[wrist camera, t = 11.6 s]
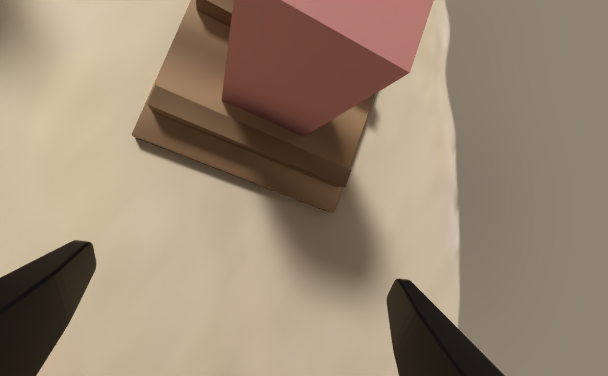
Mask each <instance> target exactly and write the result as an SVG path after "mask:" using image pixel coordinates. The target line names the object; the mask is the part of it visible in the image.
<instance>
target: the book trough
mask: <svg viewBox="0 0 608 376" xmlns="http://www.w3.org/2000/svg"><path fill="white" fill-rule="evenodd" d="M233 2H234V0H191V2H190V4H189V6H188V8H187V11H186V13H185V15H184V17H183V20H182V22H181V24H180V26H179V29H178V31H177V33H176V36H175V38H174V40H173V42H172V45H171V47H170V49H169V51H168V54H167V56H166V58H165V60H164V63H163V65H162V67H161V69H160V72H159V74H158V76H157V79H156V81H155V83H154V85H153V88H152V90H151V92H150V94H149V97H148V99H147V101H146V103H145V106H144V108H143V110H142V113H141V115H140V117H139V119H138V122H137V124H136V126H135V128H134V131H133V133H132V135H133V136H134V137H136V138H138V139H141V140H143V141H146V142H149V143H151V144H154V145H156V146H159V147H162V148H164V149H167V150H169V151H172V152H175V153H177V154H180V155H182V156H185V157H188V158H190V159H193V160H195V161H198V162H201V163H203V164H206V165H208V166H211V167H214V168H216V169H219V170H221V171H224V172H227V173H229V174H232V175H234V176H237V177H240V178H242V179H245V180H247V181H250V182H253V183H255V184H258V185H260V186H263V187H266V188H268V189H271V190H273V191H276V192H279V193H281V194H284V195H286V196H289V197H292V198H294V199H297V200H299V201H302V202H305V203H307V204H310V205H312V206H315V207H318V208H320V209H323V210H325V211H328V212H332V213H334V212H335V209H336V206H337V203H338V200H339V197H340V194H341V191H342V188H343V187H345V186H346V183H347V181H348V178H349V175H350V172H351V170H349V168H350V165H351V162H352V159H353V156H354V153H355V150H356V148H357V145H358V142H359V139H360V136H361V133H362V130H363V127H364V124H365V121H366V119H367V116H368V113H369V110H370V107H371V104H372V101H373V98H374V95H375V94H374V95H372V96H370V97H369V98H367V99H365V100H364V101H362V102H360V103H359V104H357V105H355V106H354V107H352V108H351V109H349V110H347V111H346V112H344V113H342V114H341V115H339V116H337V117H336V118H334V119H332V120H331V121H329V122H327V123H326V124H324V125H322V126H321V127H319V128H317V129H316V130H314V131H312V132H311V133H309V134H308V135H306V136H304V137H303V136H301V135H299V134H297V133H294V132H292V131H290V130H288V129H285V128H283V127H281V126H279V125H277V124H274V123H272V122H270V121H268V120H265V119H263V118H261V117H259V116H256V115H254V114H252V113H250V112H247V111H245V110H243V109H241V108H238V107H236V106H234V105H232V104H229V103H227V102H225V101H223V100H222V91H223V83H224V75H225V67H226V59H227V51H228V42H229V34H230V26H231V18H232V10H233Z"/></svg>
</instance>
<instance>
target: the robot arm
mask: <svg viewBox="0 0 608 376" xmlns="http://www.w3.org/2000/svg"><path fill="white" fill-rule="evenodd" d="M95 269H96V259H95V254H94V248H93V245H92V243H91V242H87V241H78V240H75V241H72V242H70V243H68V244H66V245H64V246H62V247H60V248H58V249H56V250H54V251H52V252H50V253H48V254H46V255H44V256H42V257H40V258H38V259H36V260H34V261H32V262H30V263H28V264H26V265H24V266H22V267H20V268H19V269H17V270H15V271H13V272H11V273H9V274H7V275H5V276H3V277H1V278H0V376H36V375H37V374H38V372H39V370H40V369H41V367H42V366H43V364H44V362H45V361H46V359H47V358H48V356H49V354H50V353H51V351H52V350H53V348H54V347H55V345H56V343H57V342H58V340H59V339H60V337H61V335H62V334H63V332H64V331H65V329H66V327H67V326H68V324H69V322H70V320H71V318H72V317H73V315H74V313H75V311H76V309H77V306H78V304H79V302H80V300H81V298H82V296H83V294H84V292H85V290H86V288H87V286H88V284H89V282H90V280H91V278H92V276H93V274H94V272H95ZM387 308H388V316H389V323H390V331H391V338H392V345H393V351H394V356H395V360H396V364H397V368H398V373H399V376H504V375H503V374H502V373H501V371H499V369H498V368H497V367H495V365H494V364H493V363H492V362H491V361H490V360H488V358H487V357H486V356H485V355H484V354H483V353H482V352H481V351H480V350H479V349H478V348H477V347H476V346H475V345H474V344H473V343H472V342H471V341H470V340H469V339H468V338H467V337H466V336H465V335H464V334H463V333H462V332H461V331H460V330H459V329H458V328H457V327H456V326H455V325H454V324H453V323H452V322H451V321H450V320H449V319H448V318H447V317H446V316H445V315H444V314H443V313H442V312H441V311H440V310H439V309H438V308H437V307H436V306H435V305H434V304H433V303H432V302H431V301H430V300H429V299H428V298H427V297H426V296H425V295H424V294H423V293H422V292H421V291H420V290H419V289H418V288H417V287H416V286H415V285H414V284H413V283H412V282H411V281H410V280H407V279H396V280H395V281H394V283H393V285H392V287H391V289H390V291H389V293H388V296H387Z"/></svg>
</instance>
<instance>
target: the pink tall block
mask: <svg viewBox="0 0 608 376" xmlns="http://www.w3.org/2000/svg"><path fill="white" fill-rule="evenodd" d="M432 3H433V0H234V2H233V10H232V18H231V26H230V34H229V42H228V51H227V59H226V67H225V75H224V83H223V91H222V100H223V101H225V102H227V103H229V104H232V105H234V106H236V107H238V108H241V109H243V110H245V111H247V112H250V113H252V114H254V115H256V116H259V117H261V118H263V119H265V120H268V121H270V122H272V123H274V124H277V125H279V126H281V127H283V128H285V129H288V130H290V131H292V132H294V133H297V134H299V135H301V136H303V137H304V136H306V135H308V134H309V133H311V132H312V131H314V130H316V129H317V128H319V127H321V126H322V125H324V124H326V123H327V122H329V121H331V120H332V119H334V118H336V117H337V116H339V115H341V114H342V113H344V112H346V111H347V110H349V109H351V108H352V107H354V106H355V105H357V104H359V103H360V102H362V101H364V100H365V99H367V98H369V97H370V96H372V95H374V94H375V93H377V92H379V91H380V90H382V89H384V88H385V87H387V86H389V85H390V84H392V83H394V82H395V81H397V80H398V79H400V78H402V77H403V76H405V75H407V74H408V73H410V70H411V67H412V64H413V61H414V58H415V55H416V52H417V49H418V46H419V43H420V40H421V37H422V34H423V31H424V28H425V25H426V22H427V19H428V16H429V13H430V10H431V7H432Z"/></svg>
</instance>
